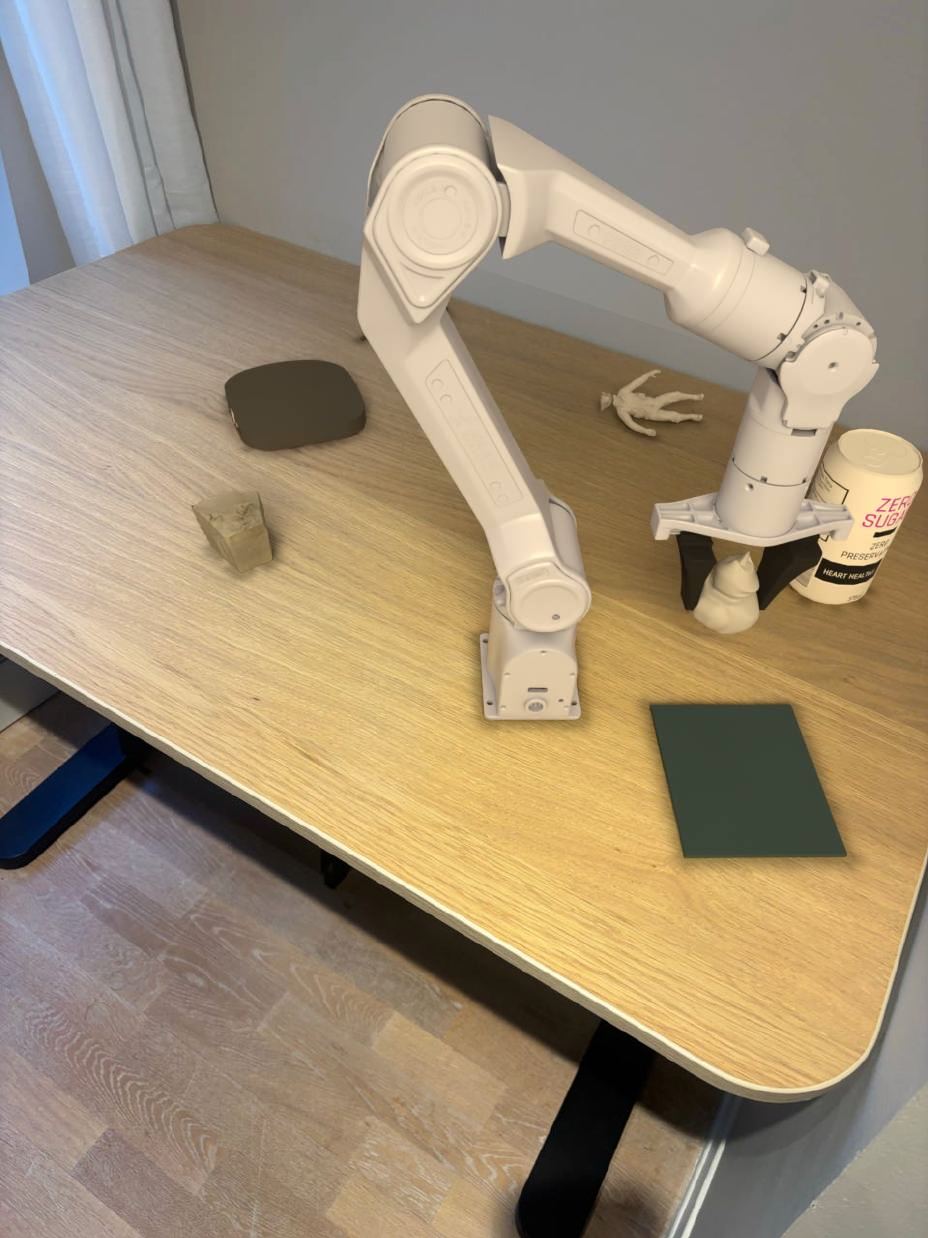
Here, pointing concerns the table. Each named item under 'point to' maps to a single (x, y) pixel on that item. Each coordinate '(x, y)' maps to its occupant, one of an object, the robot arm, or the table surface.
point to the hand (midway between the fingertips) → (722, 601)
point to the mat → (743, 783)
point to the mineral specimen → (236, 528)
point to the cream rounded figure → (729, 596)
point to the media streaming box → (294, 404)
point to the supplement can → (861, 510)
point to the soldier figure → (647, 405)
